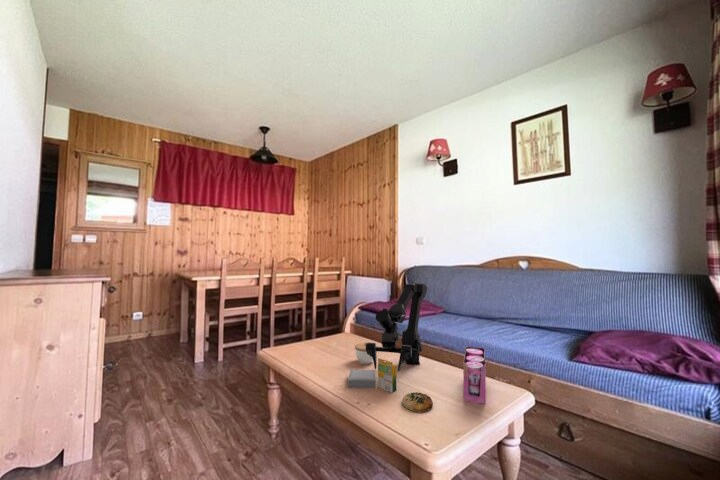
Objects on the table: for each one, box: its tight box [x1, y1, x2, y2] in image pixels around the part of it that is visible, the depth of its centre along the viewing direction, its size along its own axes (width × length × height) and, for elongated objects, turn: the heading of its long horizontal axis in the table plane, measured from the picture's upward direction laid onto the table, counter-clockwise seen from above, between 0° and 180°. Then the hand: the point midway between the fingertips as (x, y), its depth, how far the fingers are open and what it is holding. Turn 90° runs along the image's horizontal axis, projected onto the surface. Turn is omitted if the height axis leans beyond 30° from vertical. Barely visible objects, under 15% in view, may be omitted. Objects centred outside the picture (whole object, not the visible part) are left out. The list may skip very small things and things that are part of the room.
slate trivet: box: [347, 369, 377, 389], centre depth 128 cm, size 11×11×3 cm
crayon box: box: [377, 358, 398, 394], centre depth 122 cm, size 7×3×12 cm, turn 48°
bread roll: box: [401, 391, 434, 413], centre depth 109 cm, size 11×11×5 cm
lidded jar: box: [354, 342, 374, 365], centre depth 152 cm, size 11×11×9 cm
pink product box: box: [462, 346, 487, 405], centre depth 121 cm, size 24×8×14 cm, turn 159°
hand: (386, 370), depth 122 cm, fingers open, 9 cm apart
